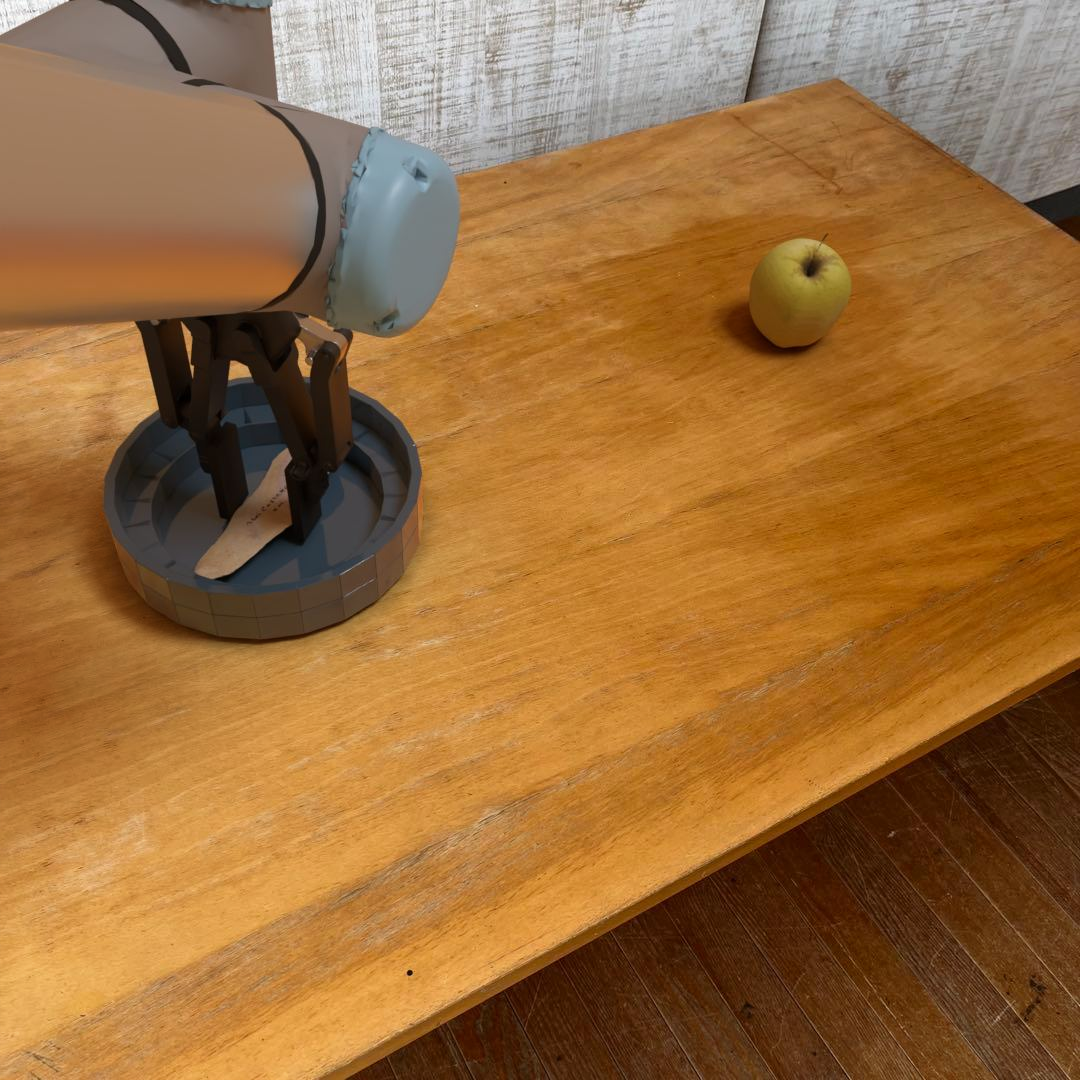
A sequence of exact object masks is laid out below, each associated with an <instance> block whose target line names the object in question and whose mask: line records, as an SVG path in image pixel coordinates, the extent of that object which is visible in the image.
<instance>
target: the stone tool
mask: <svg viewBox="0 0 1080 1080" xmlns="http://www.w3.org/2000/svg"><path fill="white" fill-rule="evenodd" d="M291 459H292V457H291V455H290V453H289V450H288V448H286V449H285V450H284V451H282V452H281V453H280V454H279V455H278V456H277V457H276V458H275V459H274V460H273V461H272V464H271V466H270V468H269V470H268V472H267V474H266V477H265V478H264V479H263V481H262V482H261V484H260V486H259V487H258V489H257V490H256V491H255V492H254V493H253V494H252V495H251V496H250V497H249V498H248V499H247V500H246V501H245V502H244V504H243V505H242V506H241V507H239V508H238V509H237V511H236V512H235V513H234V515H233V517H232V518H231V520H230V523H229V525H228V527H227V528H226V530H225V531H224V533H223V534H222V535H221V537H219V538H218V540H217V541H216V543H215V544H214V545H212V546H211V547H210V549H209V550H207V552H206V553H205V554H204V556H203V557H202V558H201V559H200V561H199V562H198V563H197V566H196V568H195V570H194V572H195V573H197V574H198V575H200V576H204V577H207V578H211V579H216V578H220V577H222V576H226V575H229V574H231V573H233V572H234V571H235V570H236V569H238V568H239V567H241V566H242V565H243V564H244V563H245V562H246V561H248V560H249V559H250V558H251V557H252V556H254V555H255V554H256V553H257V552H258V551H259V550H260V549H262V547H263V546H265V544H266V543H268V542H269V541H271V540H272V539H273V538H274V537H275V536H277V535H278V534H279V533H281V532H282V531H284V529H286V528H287V527H289V526H291V525H292V520H291V513H290V507H289V500H288V493H287V486H286V479H285V473H284V469H285V468H286V466H287V465H288V464H289V462H290V461H291ZM328 473H329V472H328Z"/></svg>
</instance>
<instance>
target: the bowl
mask: <svg viewBox="0 0 1080 1080" xmlns="http://www.w3.org/2000/svg"><path fill="white" fill-rule="evenodd" d="M302 376H303V375H302ZM303 379H304V381H305V384H306V386H307V389H308V392H309V394H310V397H311V399H312V395H311V387H310V376H303ZM349 396H350V407H351V418H352V429H353V440H354V445H353V447H352V449H351V450H350V452H349V453H348V455H347V456H346V458H345V459H344V461H343V462H342V464H341V465H340V467H339V468H338V470H337V471H336V472H334V473H330V472H329V473H328V480H329V487H328V489H327V491H326V493H325V494H324V496H323V497H322V499H321V500H320V502H321V510H322V516H321V518H320V519H319V521H318V522H317V524H316V526H315V527H314V529H313V530H312V532H311V533H310V535H309V536H308V538H307V540H306V541H305V542H301V541H298V540H294V534H293V527H292V525H291V526H289V527H287V528H286V529H284V531H282V532H281V533H279V534H278V535H277V536H275V537H274V538H273V539H272V540H271V541H269V542H268V543H266V544H265V546H263V547H262V549H260V550H259V551H258V552H257V553H256V554H255V555H254V556H252V557H251V558H250V559H249V560H248V561H246V562H245V563H244V564H243V565H242V566H241V567H239V568H238V569H236V570H235V571H234V572H233V573H231V574H229V575H226V576H222V577H220V578H216V579H211V578H207V577H204V576H200V575H198V574H197V573H195V572H194V570H195V568H196V566H197V563H198V562H199V561H200V559H201V558H202V557H203V556H204V554H205V553H206V552H207V550H209V549H210V547H211V546H212V545H214V544H215V543H216V541H217V540H218V538H219V537H221V535H222V534H223V533H224V531H225V530H226V528H227V527H228V525H229V523H230V521H229V520H226V519H223V518H220V515H219V511H218V506H217V501H216V497H215V492H214V487H213V482H212V478H211V474H208V473H204V471H203V470H202V468H201V467H200V462H199V458H198V453H197V449H196V444H195V441H193V440H192V439H191V438H190V436H189V434H188V431H187V430H185V429H183V428H181V427H180V426H178V428H176V429H171V428H169V427H167V426H166V425H165V424H164V423H163V422H162V420H161V416H160V412H159V408H158V409H156V410H155V411H154V412H153V413H151V414H150V415H148V416H147V417H146V418H144V419H143V420H141V421H140V422H138V424H137V425H136V426H135V427H134V428H133V429H132V430H131V432H130V433H129V434H128V436H127V437H126V438H125V439H124V440H123V441H122V443H121V444H120V445H119V446H118V447H117V448H116V450H115V453H114V455H113V457H112V459H111V461H110V464H109V466H108V468H107V470H106V473H105V476H104V479H103V495H102V497H103V498H102V501H103V502H102V508H103V509H102V510H103V512H104V516H105V519H106V522H107V526H108V528H109V532H110V535H111V537H112V541H113V544H114V547H115V550H116V553H117V557H118V559H119V562H120V564H121V567H122V571H123V572H124V575H125V577H126V578H125V579H126V580H127V582H128V583H129V584H130V586H132V588H133V589H134V590H135V591H136V592H137V594H138V595H139V596H140V597H141V599H143V601H144V602H145V603H146V604H147V605H148V606H149V608H151V609H153V610H155V611H156V612H159V613H160V614H161V615H163V616H165V617H166V618H168V619H170V620H171V621H173V622H174V623H176V624H178V625H180V626H183V627H186V628H190V629H193V630H196V631H200V632H203V633H206V634H210V635H213V636H216V637H220V638H236V639H248V640H249V639H250V640H267V639H268V640H269V639H275V638H284V637H291V636H298V635H304V634H308V633H311V632H313V631H317V630H320V629H322V628H325V627H329V626H331V625H335V624H337V623H339V622H342V621H345V620H347V619H348V618H350V617H352V616H353V615H355V614H357V613H358V612H360V611H362V610H364V609H365V608H367V607H369V606H370V605H372V604H373V603H375V602H376V601H378V600H379V599H381V597H382V596H383V595H384V594H385V593H386V592H387V591H388V590H389V589H390V588H391V587H392V586H393V585H394V584H395V583H396V582H397V581H398V580H399V579H400V578H401V577H402V576H403V575H404V573H405V572H406V569H407V568H408V566H409V565H410V563H411V561H412V559H413V557H414V556H415V554H416V551H417V549H418V548H419V545H420V541H421V535H422V528H423V522H424V490H423V489H424V488H423V486H424V485H423V484H424V483H423V470H422V465H421V460H420V455H419V454H420V453H419V449H418V446H417V444H416V442H415V441H414V438H413V437H412V435H411V434H410V433H409V431H408V429H407V428H406V426H405V425H404V423H403V422H402V420H401V419H400V418H399V417H398V416H396V415H395V414H394V413H393V412H392V411H390V410H389V409H388V408H387V407H386V406H385V405H383V404H382V403H381V402H379V400H377V399H375V398H373V397H371V396H369V395H368V394H365V393H363V392H361V391H359V390H357V389H355V388H353V387H351V386H349ZM225 408H226V409H225V411H227V410H228V409H229V412H228V413H227V414H226V416H225V417H224V418H223V419H222V421H221V422H220V423H221V427H222V426H223V424H224V423H225V422H230V423H234V424H236V426H237V431H238V437H239V442H240V448H241V453H242V459H243V464H244V470H245V476H246V481H247V487H248V492H249V495H248V496H247V498H246V499H245V500H244V502H245V501H246V500H247V499H248V498H249V497H250V496H251V495H252V494H253V493H254V492H255V491H256V490H257V489H258V487H259V486H260V484H261V482H262V481H263V479H264V478H265V477H266V474H267V472H268V470H269V468H270V466H271V464H272V461H273V460H274V459H275V458H276V457H277V456H278V455H279V454H280V453H281V452H282V451H284V450H285V449H286V448H287V445H286V443H285V441H284V438H283V436H282V433H281V431H280V429H279V426H278V424H277V421H276V419H275V417H274V414H273V412H272V409H271V407H270V404H269V402H268V400H267V397H266V395H265V392H264V390H263V388H262V387H260V386H256V385H255V383H254V381H253V378H252V376H243V377H242V376H241V377H235V378H231V379H228V386H227V395H226V403H225ZM244 502H243V503H242V505H243V504H244ZM242 505H241V506H242ZM241 506H240V507H241Z"/></svg>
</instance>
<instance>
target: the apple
mask: <svg viewBox="0 0 1080 1080" xmlns="http://www.w3.org/2000/svg"><path fill="white" fill-rule="evenodd" d="M828 235H829V233H828V232H827V233H826V234H825V235H824V236H823V238H822V240H821V241H819V240H817V239H813V238H806V237H805V238H804V237H803V238H802V237H801V238H800V237H799V238H794V239H790V240H786V241H784V242H782V243H780V244H778V245H775V246H774V247H773V248H771V249H770V250H768V252H767V253H765V255H764V256H763V257H762V258H761V259H760V260H759V262H758V263H757V265H756V267H755V268H754V270H753V272H752V275H751V278H750V282H749V296H748V306H749V312H750V315H751V319H752V321H753V323H754V325H755V327H756V329H758V331H759V332H760V333H761V334H762V335H763V336H764V337H765V338H766V339H767V340H768V341H769V342H771V343H772V344H773V345H775V346H776V347H779V348H782V349H786V348H793V347H805V346H809V345H812V344H814V343H816V342H817V341H819V340H820V339H823V337H825V335H826V334H827V333H829V332H830V330H832V328H833V327H834V326H835V324H836V323H837V322H838V321H839V320H840V318H841V317H842V315H843V313H844V312H845V310H846V308H847V306H848V303H849V301H850V297H851V294H852V293H851V292H852V278H851V273H850V271H849V269H848V267H847V265H846V263H845V262H844V261H843V259H842V257H841V255H840V254H838V253H837V252H836V251H835V250H834V249H833V248H832V247H830V246H829V245H827V244H825V243H823V242H824V241H825V239H826V238H827V236H828Z"/></svg>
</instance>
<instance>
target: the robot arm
mask: <svg viewBox="0 0 1080 1080" xmlns="http://www.w3.org/2000/svg"><path fill="white" fill-rule="evenodd" d="M272 7H273V0H68V1H65V2H63V3H61V4H58V5H56V6H55V7H53V8H51V9H48V10H46V11H44V12H43V13H40V14H39V15H37V16H35V17H33V18H31V19H29V20H27V21H25V22H23V23H21V24H18V25H17V26H15V27H13V28H11V29H9V30H7V31H5V32H2V33H1V34H0V333H3V332H4V333H5V332H17V331H18V332H19V331H28V330H29V331H30V330H31V331H32V330H43V329H54V328H67V327H80V326H92V325H93V326H94V325H108V324H119V323H120V324H121V323H131V322H132V323H133V322H134V323H135V325H136V327H137V329H138V331H139V332H140V336H141V340H142V345H143V348H144V352H145V353H144V354H145V357H146V361H147V365H148V370H149V373H150V374H149V375H150V379H151V382H152V386H153V390H154V391H153V392H154V395H155V400H156V403H157V407H158V409H159V412H160V416H161V420H162V422H163V423H164V424H165V425H166V426H167V427H169V428H171V429H176V428H178V426H180V427H181V428H183V429H185V430H187V431H188V434H189V436H190V438H191V439H192V440H193V441H195V444H196V449H197V453H198V458H199V462H200V467H201V468H202V470H203V471H204V473H208V474H211V478H212V482H213V487H214V492H215V497H216V501H217V506H218V511H219V515H220V518H223V519H226V520H229V521H230V520H231V518H232V517H233V515H234V513H235V512H236V511H237V509H238V508H239V507H240V506H241V505H242V503H243V502H244V500H245V499H246V498H247V496H248V495H249V492H248V487H247V481H246V476H245V470H244V464H243V459H242V453H241V448H240V442H239V437H238V431H237V426H236V424H234V423H230V422H225V423H224V424H223V426H222V427H221V423H220V422H221V421H222V419H223V418H224V417H225V416H226V414H227V413H228V412H229V409H228V410H227V411H225V409H226V408H225V403H226V395H227V386H228V380H229V377H230V370H231V362H237V363H239V364H241V365H243V366H246V367H247V369H248V372H249V373H250V377H252V378H253V381H254V383H255V385H256V386H260V387H262V388H263V390H264V392H265V395H266V397H267V400H268V402H269V404H270V407H271V409H272V412H273V414H274V417H275V419H276V421H277V424H278V426H279V429H280V431H281V433H282V436H283V438H284V441H285V443H286V445H287V448H288V450H289V453H290V455H291V457H292V459H291V461H290V462H289V464H288V465H287V466H286V468H285V469H284V473H285V479H286V486H287V493H288V500H289V507H290V513H291V520H292V527H293V534H294V540H298V541H301V542H305V541H306V540H307V538H308V536H309V535H310V533H311V532H312V530H313V529H314V527H315V526H316V524H317V522H318V521H319V519H320V518H321V516H322V510H321V502H320V500H321V499H322V497H323V496H324V494H325V493H326V491H327V489H328V487H329V480H328V472H330V473H334V472H336V471H337V470H338V468H339V467H340V465H341V464H342V462H343V461H344V459H345V458H346V456H347V455H348V453H349V452H350V450H351V449H352V447H353V445H354V440H353V429H352V418H351V407H350V396H349V387H350V386H349V376H348V365H347V364H348V363H347V356H348V353H349V350H350V348H351V345H352V342H353V340H354V332H356V333H360V334H365V335H368V336H372V337H376V338H382V339H391V338H396V337H399V336H402V335H404V334H407V333H408V332H410V331H412V329H413V328H415V327H416V326H417V325H418V324H419V323H420V322H421V321H422V320H424V318H425V317H426V315H428V313H429V312H430V310H431V309H432V307H433V306H434V305H435V303H436V301H437V299H438V298H439V295H440V294H441V292H442V289H443V288H444V285H445V283H446V281H447V278H448V275H449V273H450V269H451V266H452V262H453V259H454V255H455V251H456V246H457V241H458V235H459V230H460V225H461V224H460V222H461V200H460V193H459V188H458V182H457V180H456V177H455V174H454V173H453V170H452V169H451V167H450V165H449V164H448V163H447V161H446V160H445V159H444V158H443V157H442V156H441V154H439V153H438V152H436V151H435V150H434V149H431V148H429V147H426V146H423V145H420V144H418V143H415V142H412V141H410V140H406V139H404V138H401V137H398V136H396V135H394V134H391V133H389V132H388V130H386V129H384V128H381V127H378V126H371V127H369V126H368V127H367V126H364V125H361V124H357V123H354V122H351V121H347V120H345V119H341V118H338V117H334V116H330V115H327V114H324V113H320V112H317V111H314V110H311V109H308V108H305V107H301V106H297V105H294V104H290V103H287V102H284V101H279V92H278V81H277V70H276V69H277V68H276V58H275V57H276V56H275V48H274V46H275V45H274V37H273V35H274V34H273V24H272V11H271V8H272ZM310 317H312V318H315V319H318V320H320V321H323V322H324V323H325V322H326V325H327V327H326V326H324V325H322V324H321V323H319V322H317V321H316V320H314V319H312V318H310ZM182 324H183V325H184V327H185V328H186V329H187V330H188V332H189V333H190V336H191V348H190V349H191V350H190V359H189V354H188V349H187V344H186V339H185V334H184V329H183V325H182ZM328 327H330V328H332V329H330V328H328ZM297 339H298V340H300V341H301V343H302V344H303V346H304V348H305V355H306V356H305V358H304V363H305V364H306V365H307V366H310V371H309V377H310V387H311V395H312V399H311V397H310V394H309V392H308V389H307V386H306V384H305V381H304V379H303V374H302V371H301V368H300V366H299V357H300V351H299V349H298V346H297V343H296V340H297ZM191 366H193V372H192V368H191Z"/></svg>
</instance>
